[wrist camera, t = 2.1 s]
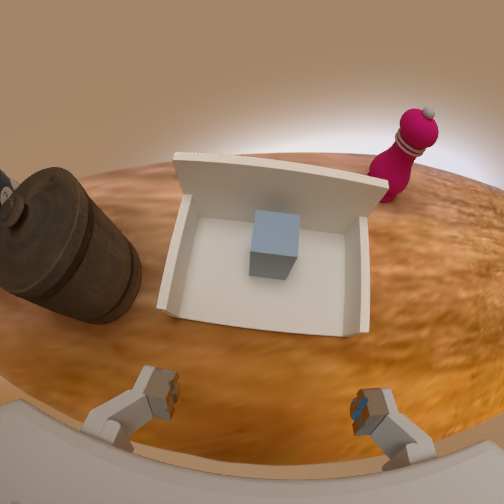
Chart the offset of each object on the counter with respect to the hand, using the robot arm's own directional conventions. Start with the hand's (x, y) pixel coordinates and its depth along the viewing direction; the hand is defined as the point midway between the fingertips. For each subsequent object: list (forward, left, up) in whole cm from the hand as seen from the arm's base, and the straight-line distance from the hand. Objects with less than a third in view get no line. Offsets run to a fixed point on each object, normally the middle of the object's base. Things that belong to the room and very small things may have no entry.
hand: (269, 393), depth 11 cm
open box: (+3, +13, -24) cm, 28 cm away
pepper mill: (+26, +26, -24) cm, 44 cm away
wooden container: (-22, +14, -25) cm, 36 cm away
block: (+4, +14, -23) cm, 27 cm away
